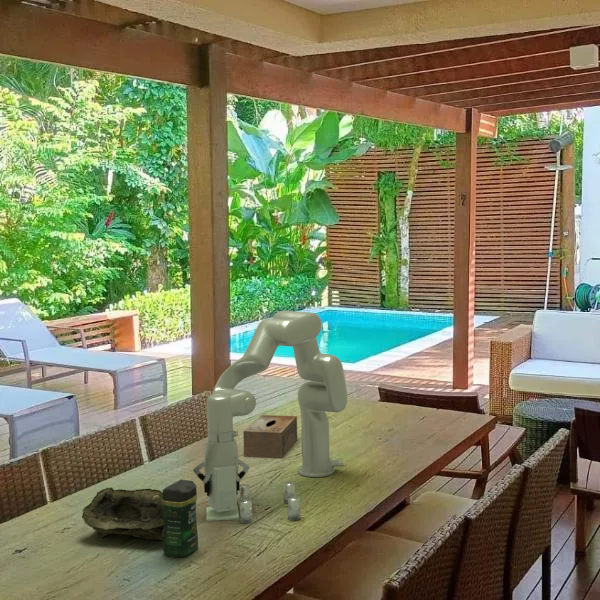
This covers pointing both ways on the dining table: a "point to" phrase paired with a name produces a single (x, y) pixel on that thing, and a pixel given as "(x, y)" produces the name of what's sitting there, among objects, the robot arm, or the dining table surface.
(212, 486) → the small box
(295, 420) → the tissue box cover
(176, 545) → the coffee jar
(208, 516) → the sage mat
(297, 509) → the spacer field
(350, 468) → the dining table surface
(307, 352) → the robot arm
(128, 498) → the hollow geode rock
